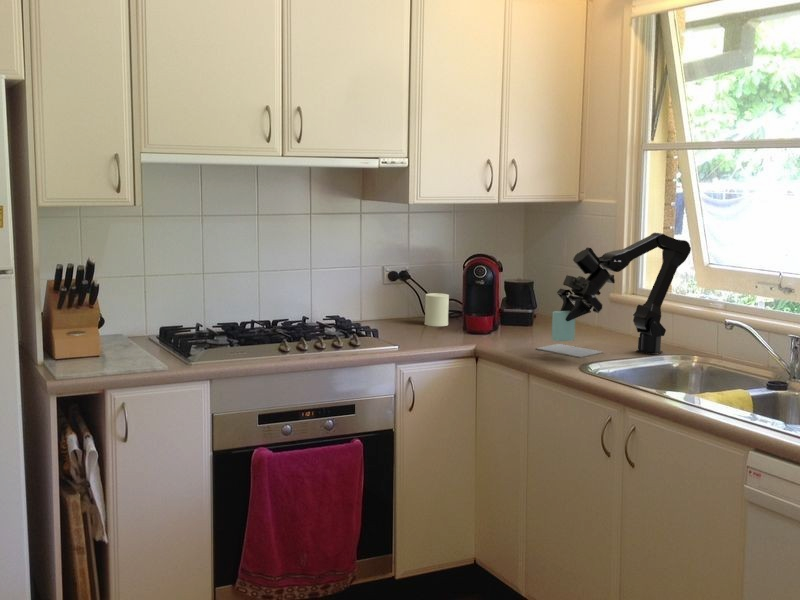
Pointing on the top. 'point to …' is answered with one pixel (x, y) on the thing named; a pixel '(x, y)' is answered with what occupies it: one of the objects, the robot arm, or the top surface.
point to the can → (436, 309)
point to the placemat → (569, 350)
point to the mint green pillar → (562, 327)
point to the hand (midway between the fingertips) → (562, 319)
